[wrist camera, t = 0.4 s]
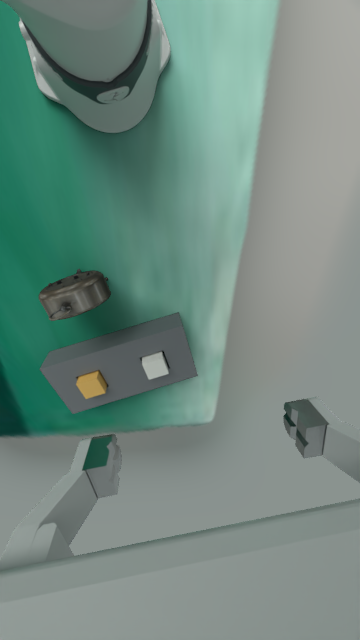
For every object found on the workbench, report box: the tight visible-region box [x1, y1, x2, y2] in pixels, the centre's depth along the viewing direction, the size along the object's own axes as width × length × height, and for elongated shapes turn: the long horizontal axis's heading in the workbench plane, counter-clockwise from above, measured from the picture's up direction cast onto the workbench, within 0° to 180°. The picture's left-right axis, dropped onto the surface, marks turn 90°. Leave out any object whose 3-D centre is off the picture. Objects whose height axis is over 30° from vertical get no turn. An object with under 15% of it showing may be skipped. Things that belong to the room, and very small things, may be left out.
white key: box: [142, 351, 169, 380], centre depth 51 cm, size 4×4×3 cm
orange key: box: [76, 370, 107, 399], centre depth 51 cm, size 4×4×3 cm
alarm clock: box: [39, 269, 111, 321], centre depth 39 cm, size 11×5×16 cm, turn 105°
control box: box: [40, 312, 198, 414], centre depth 54 cm, size 14×30×6 cm, turn 105°
